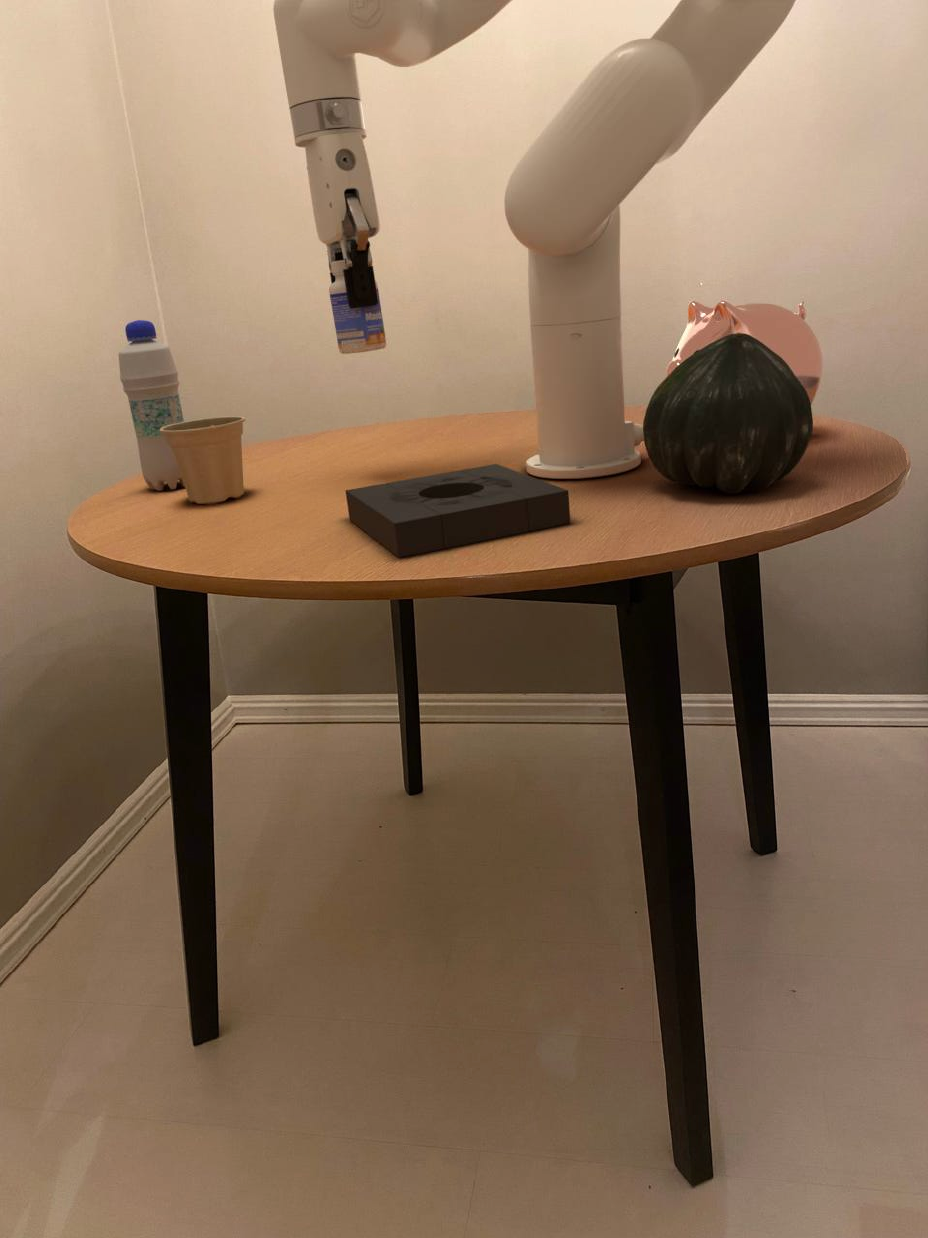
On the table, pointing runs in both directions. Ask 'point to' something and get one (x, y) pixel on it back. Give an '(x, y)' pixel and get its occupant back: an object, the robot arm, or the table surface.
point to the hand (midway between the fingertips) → (356, 305)
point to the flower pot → (208, 457)
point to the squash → (729, 418)
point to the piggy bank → (756, 335)
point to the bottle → (151, 401)
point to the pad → (456, 508)
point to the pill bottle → (354, 318)
